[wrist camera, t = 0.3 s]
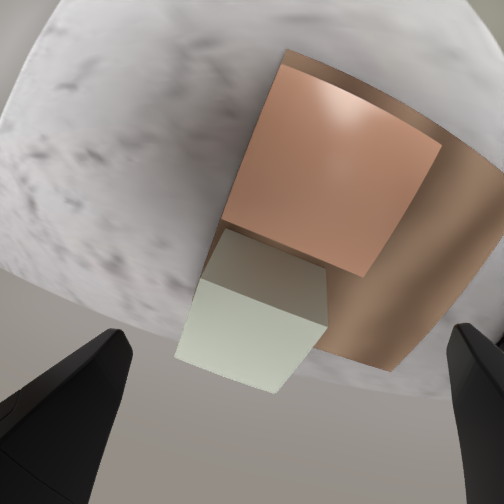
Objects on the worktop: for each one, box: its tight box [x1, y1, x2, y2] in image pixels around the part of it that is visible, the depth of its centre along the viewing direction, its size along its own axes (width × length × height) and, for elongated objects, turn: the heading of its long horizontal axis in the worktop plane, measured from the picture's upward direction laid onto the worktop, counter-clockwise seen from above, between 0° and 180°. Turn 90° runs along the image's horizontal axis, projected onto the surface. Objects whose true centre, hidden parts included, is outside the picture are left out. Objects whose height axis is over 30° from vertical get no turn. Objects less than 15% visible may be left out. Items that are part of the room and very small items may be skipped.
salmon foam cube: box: [221, 64, 442, 277], centre depth 15 cm, size 7×7×6 cm
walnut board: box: [192, 49, 504, 372], centre depth 20 cm, size 18×18×1 cm
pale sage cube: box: [175, 228, 328, 394], centre depth 20 cm, size 7×7×6 cm
